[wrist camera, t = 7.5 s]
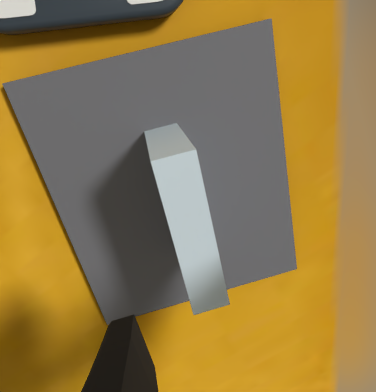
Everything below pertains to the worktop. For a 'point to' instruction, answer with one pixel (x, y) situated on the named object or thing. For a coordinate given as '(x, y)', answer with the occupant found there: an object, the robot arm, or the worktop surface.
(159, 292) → the mat
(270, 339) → the worktop surface
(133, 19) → the smartphone
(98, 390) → the robot arm
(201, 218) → the block
